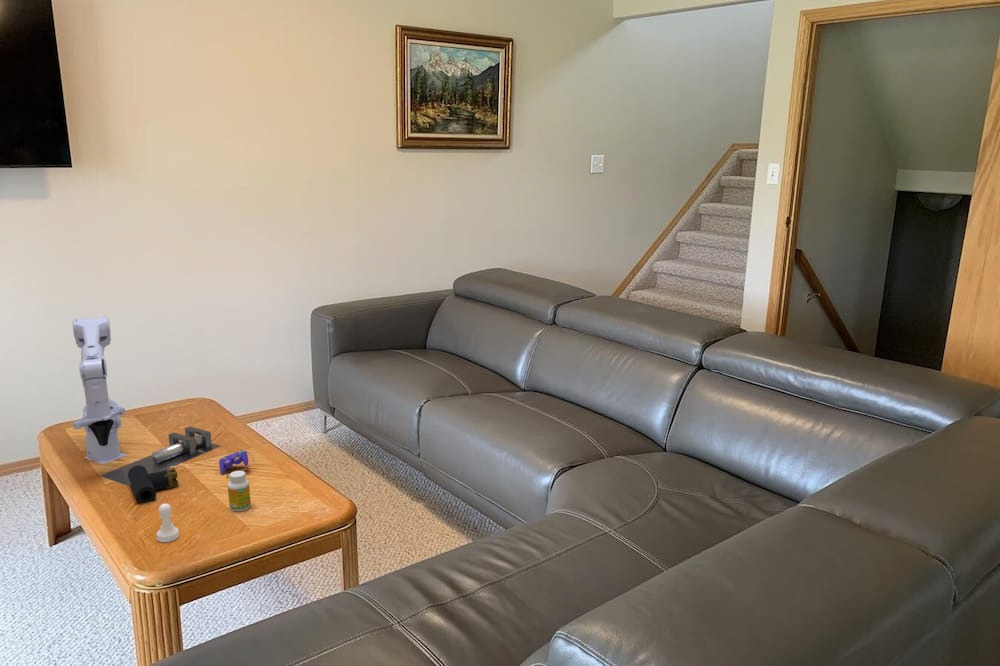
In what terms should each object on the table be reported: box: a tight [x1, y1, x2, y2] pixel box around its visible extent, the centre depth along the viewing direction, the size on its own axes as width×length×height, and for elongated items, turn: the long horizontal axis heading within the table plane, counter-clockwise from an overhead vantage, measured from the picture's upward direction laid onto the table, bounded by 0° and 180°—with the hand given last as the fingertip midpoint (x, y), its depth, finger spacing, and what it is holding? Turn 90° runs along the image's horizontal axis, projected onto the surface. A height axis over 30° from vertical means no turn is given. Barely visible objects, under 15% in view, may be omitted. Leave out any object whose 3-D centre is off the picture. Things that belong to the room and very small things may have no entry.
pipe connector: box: [128, 465, 179, 504], centre depth 208 cm, size 12×5×15 cm
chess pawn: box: [156, 503, 180, 543], centre depth 183 cm, size 5×5×9 cm
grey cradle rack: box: [99, 426, 222, 487], centre depth 227 cm, size 13×33×6 cm, turn 151°
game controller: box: [218, 449, 255, 479], centre depth 220 cm, size 10×8×10 cm
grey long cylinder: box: [151, 434, 202, 464], centre depth 232 cm, size 18×4×4 cm, turn 150°
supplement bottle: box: [227, 470, 252, 512], centre depth 198 cm, size 5×5×10 cm
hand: (103, 444), depth 215 cm, fingers closed
